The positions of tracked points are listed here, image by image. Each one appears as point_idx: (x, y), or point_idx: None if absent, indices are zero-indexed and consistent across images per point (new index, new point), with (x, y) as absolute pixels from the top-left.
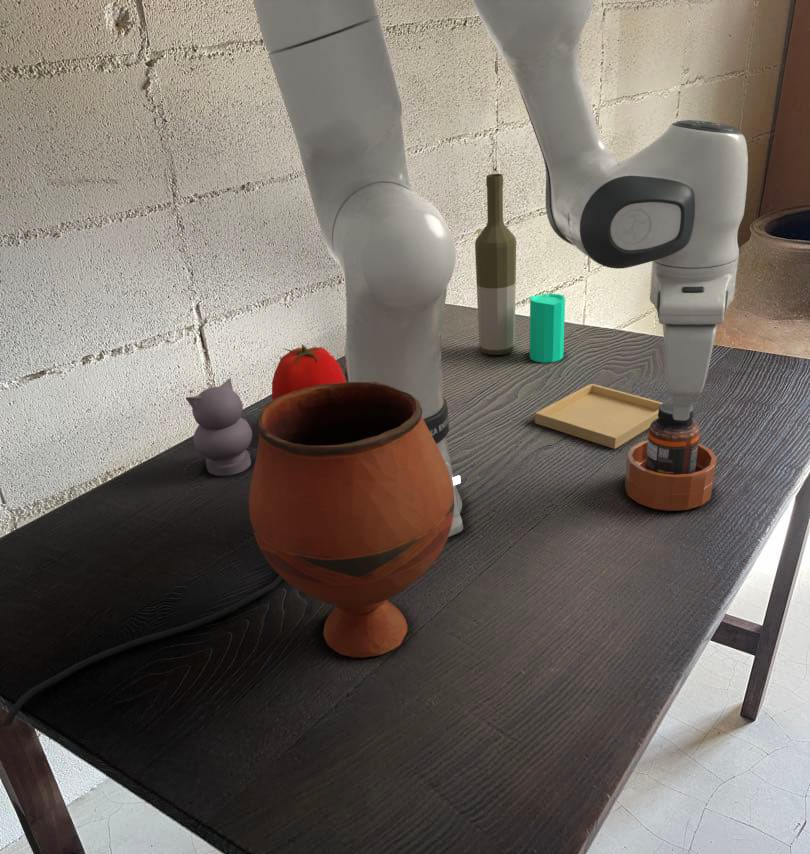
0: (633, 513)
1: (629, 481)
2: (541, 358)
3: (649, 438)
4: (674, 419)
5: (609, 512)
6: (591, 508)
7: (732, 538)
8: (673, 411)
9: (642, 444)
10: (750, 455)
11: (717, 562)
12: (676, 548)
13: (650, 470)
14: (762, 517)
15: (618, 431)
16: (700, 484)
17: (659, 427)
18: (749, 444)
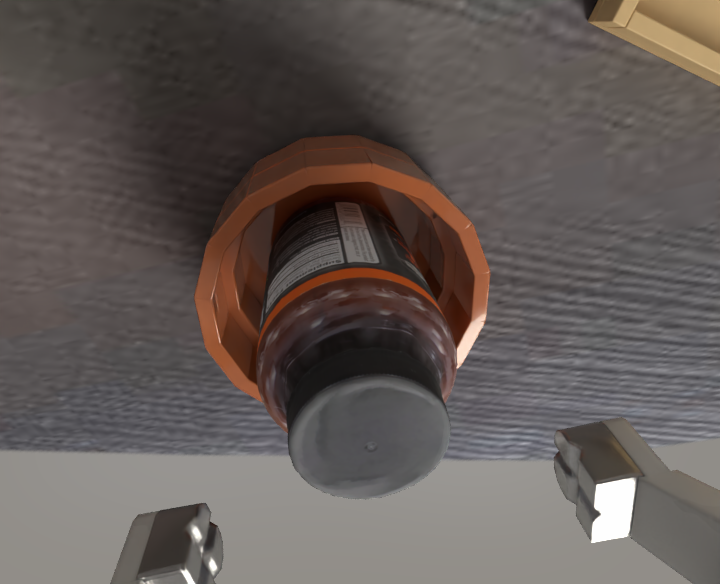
0: (176, 198)
1: (251, 176)
2: None
3: (306, 281)
4: (140, 515)
5: (144, 128)
6: (137, 61)
7: (178, 419)
8: (121, 552)
9: (416, 197)
10: (579, 380)
11: (62, 415)
12: (64, 335)
13: (214, 276)
14: None
15: (716, 1)
16: None
17: (294, 351)
18: (638, 368)
